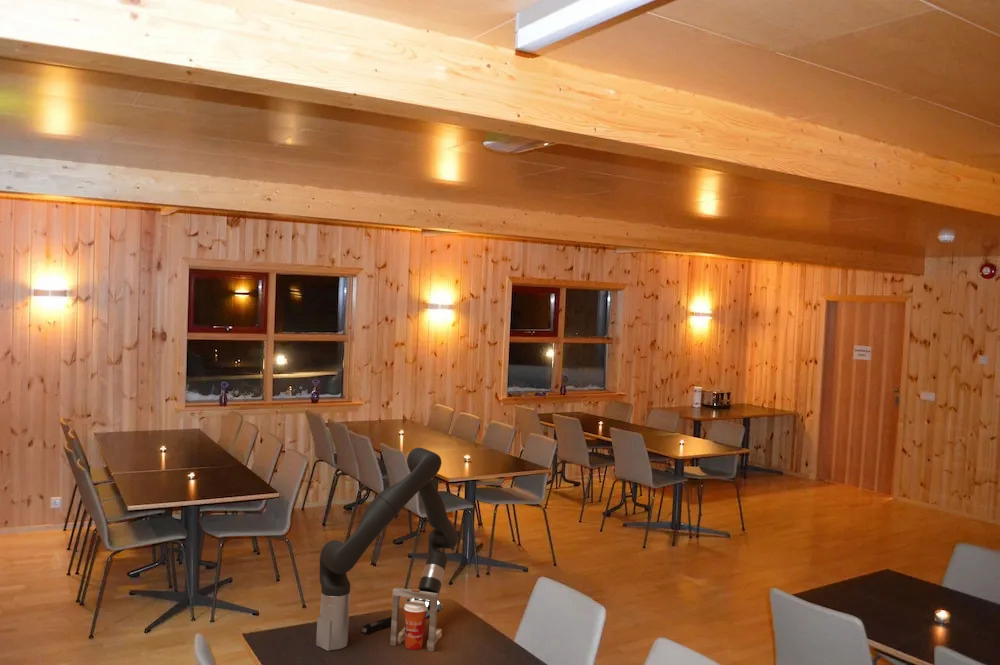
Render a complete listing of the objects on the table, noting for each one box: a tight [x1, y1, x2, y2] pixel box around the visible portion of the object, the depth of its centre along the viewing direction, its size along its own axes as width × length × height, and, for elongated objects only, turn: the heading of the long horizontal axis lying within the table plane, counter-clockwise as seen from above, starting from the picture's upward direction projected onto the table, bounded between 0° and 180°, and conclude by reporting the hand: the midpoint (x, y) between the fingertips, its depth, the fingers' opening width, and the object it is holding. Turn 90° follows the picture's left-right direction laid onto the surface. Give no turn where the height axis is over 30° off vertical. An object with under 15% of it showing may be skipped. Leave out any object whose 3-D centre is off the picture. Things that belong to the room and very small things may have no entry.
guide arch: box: [389, 587, 443, 652], centre depth 263 cm, size 13×15×19 cm
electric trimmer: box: [360, 616, 392, 636], centre depth 273 cm, size 4×16×3 cm, turn 140°
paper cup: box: [403, 600, 428, 651], centre depth 258 cm, size 8×8×14 cm
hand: (417, 629), depth 262 cm, fingers closed
